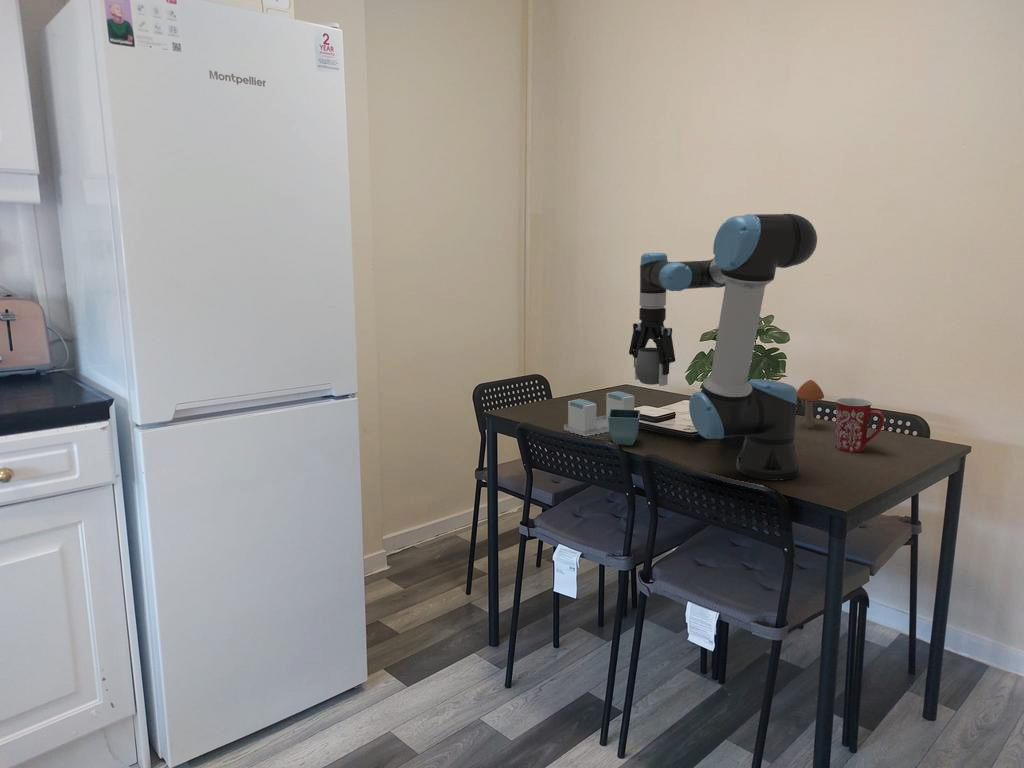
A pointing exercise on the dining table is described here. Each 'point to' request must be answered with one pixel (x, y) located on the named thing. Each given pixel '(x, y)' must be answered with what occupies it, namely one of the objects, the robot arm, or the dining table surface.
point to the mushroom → (809, 400)
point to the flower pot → (623, 425)
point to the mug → (854, 423)
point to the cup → (648, 366)
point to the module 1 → (581, 415)
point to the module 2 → (619, 401)
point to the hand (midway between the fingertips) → (650, 382)
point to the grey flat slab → (601, 427)
